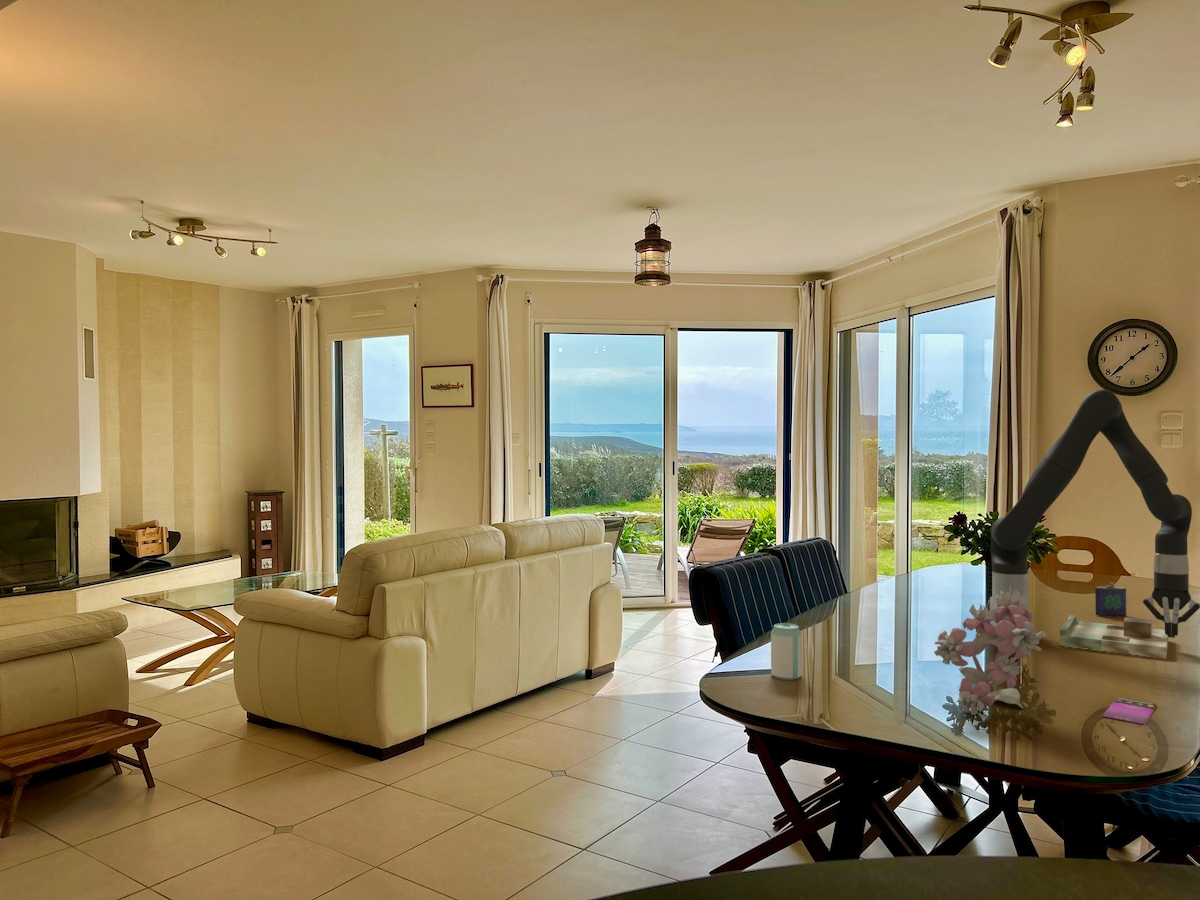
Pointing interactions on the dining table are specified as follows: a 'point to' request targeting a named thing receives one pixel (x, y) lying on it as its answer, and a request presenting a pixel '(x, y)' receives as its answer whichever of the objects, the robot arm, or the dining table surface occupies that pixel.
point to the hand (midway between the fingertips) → (1171, 636)
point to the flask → (1110, 600)
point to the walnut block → (1137, 627)
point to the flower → (1008, 641)
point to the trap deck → (1112, 639)
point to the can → (786, 651)
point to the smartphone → (1130, 711)
